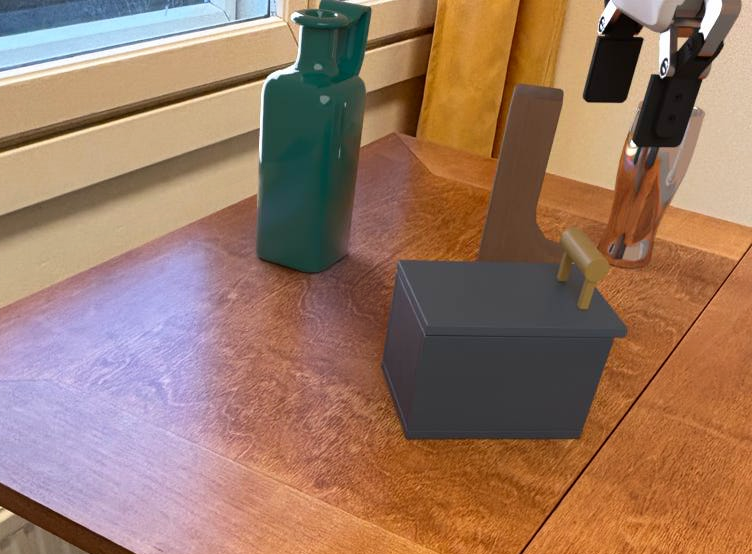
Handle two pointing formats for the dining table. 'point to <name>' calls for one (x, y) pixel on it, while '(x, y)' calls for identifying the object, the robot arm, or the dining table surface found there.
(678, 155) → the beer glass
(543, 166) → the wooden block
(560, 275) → the lid
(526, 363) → the chest
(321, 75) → the green bottle
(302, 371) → the dining table surface
